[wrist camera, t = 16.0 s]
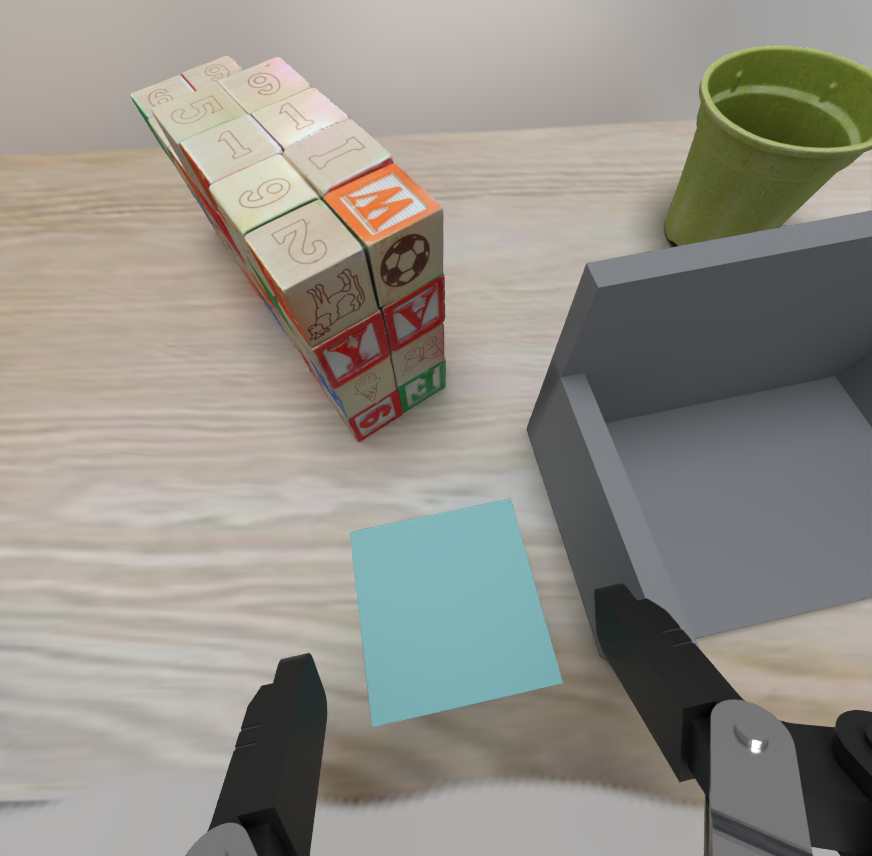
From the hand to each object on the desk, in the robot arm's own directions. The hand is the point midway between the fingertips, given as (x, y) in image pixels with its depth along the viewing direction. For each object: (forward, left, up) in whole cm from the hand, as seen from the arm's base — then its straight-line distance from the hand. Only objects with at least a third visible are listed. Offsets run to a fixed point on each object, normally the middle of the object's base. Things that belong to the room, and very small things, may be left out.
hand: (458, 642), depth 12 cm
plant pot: (+28, +12, -9) cm, 32 cm away
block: (0, +1, -9) cm, 9 cm away
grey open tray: (+15, -2, -9) cm, 18 cm away
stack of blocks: (+3, +22, -9) cm, 24 cm away
